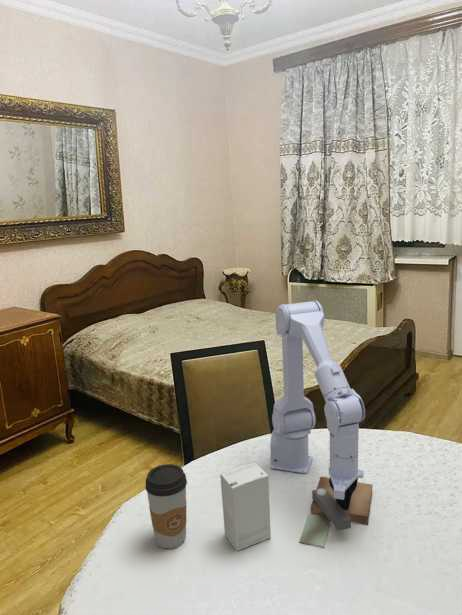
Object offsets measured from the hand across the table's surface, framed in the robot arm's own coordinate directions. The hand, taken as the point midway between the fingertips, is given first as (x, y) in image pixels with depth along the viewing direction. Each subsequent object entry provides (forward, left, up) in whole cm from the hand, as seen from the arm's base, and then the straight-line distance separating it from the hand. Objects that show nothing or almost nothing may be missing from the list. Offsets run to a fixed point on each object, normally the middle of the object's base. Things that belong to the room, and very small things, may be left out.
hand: (343, 508), depth 104 cm
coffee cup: (-33, -16, -3) cm, 37 cm away
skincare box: (-18, -11, -3) cm, 21 cm away
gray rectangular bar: (-2, -1, -1) cm, 3 cm away
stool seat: (-1, +1, -3) cm, 3 cm away
